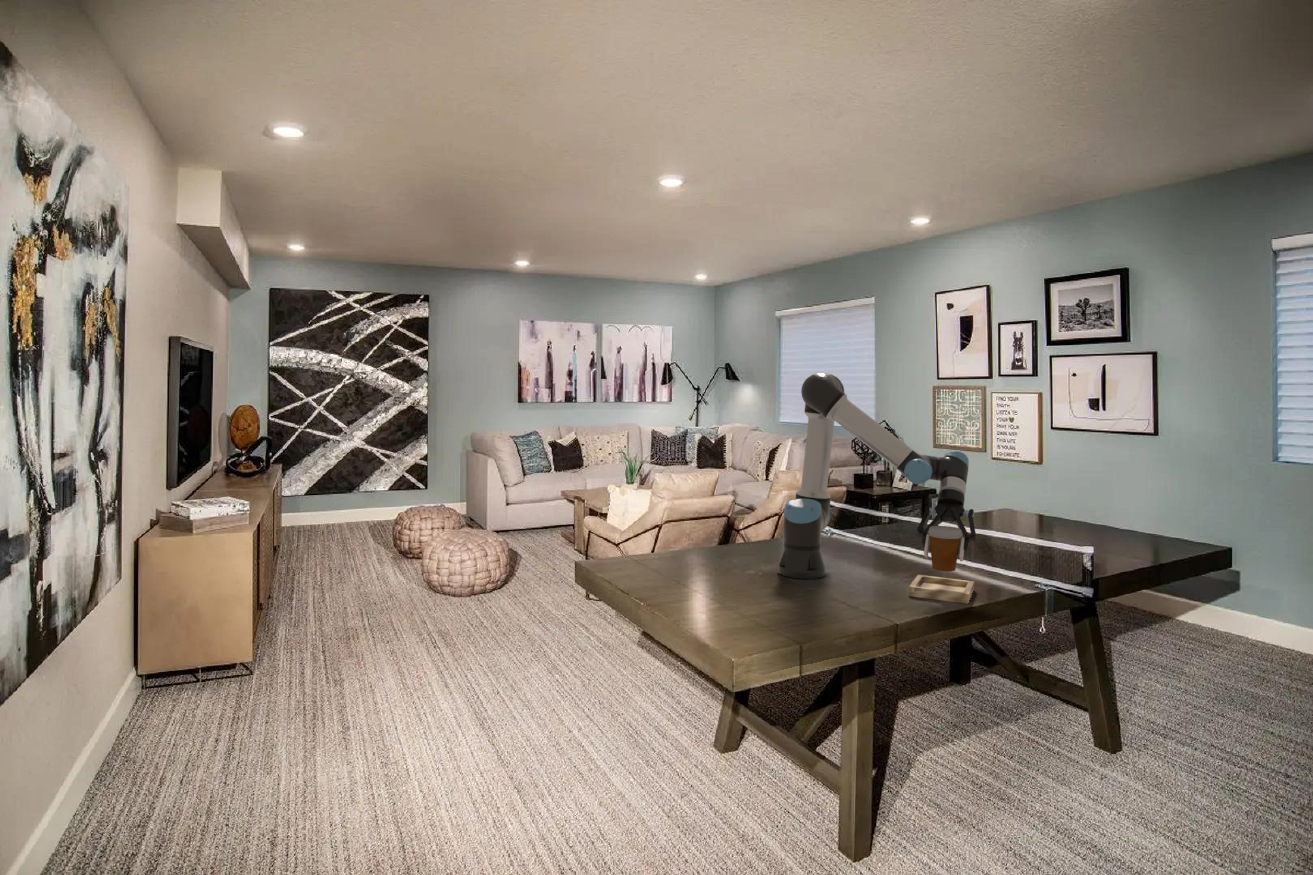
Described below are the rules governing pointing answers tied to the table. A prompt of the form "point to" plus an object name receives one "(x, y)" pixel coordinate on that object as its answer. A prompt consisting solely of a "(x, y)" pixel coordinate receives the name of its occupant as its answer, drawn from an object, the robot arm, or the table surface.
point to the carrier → (942, 589)
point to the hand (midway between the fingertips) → (943, 556)
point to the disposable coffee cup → (944, 547)
